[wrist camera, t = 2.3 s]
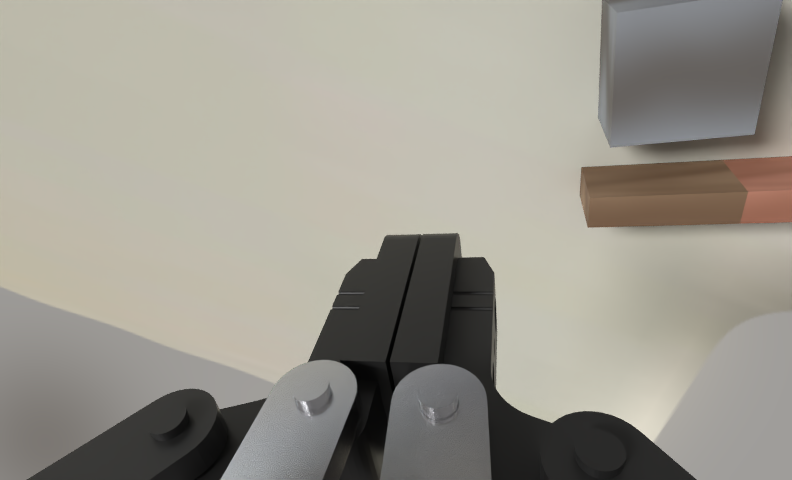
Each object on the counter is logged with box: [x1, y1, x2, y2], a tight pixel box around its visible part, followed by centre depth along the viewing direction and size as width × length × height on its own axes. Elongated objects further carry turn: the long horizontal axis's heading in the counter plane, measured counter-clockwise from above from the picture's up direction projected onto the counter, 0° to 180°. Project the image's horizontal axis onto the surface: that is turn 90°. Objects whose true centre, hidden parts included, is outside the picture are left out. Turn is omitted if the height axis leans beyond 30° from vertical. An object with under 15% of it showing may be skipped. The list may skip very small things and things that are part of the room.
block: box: [598, 0, 783, 147], centre depth 19 cm, size 5×5×4 cm
